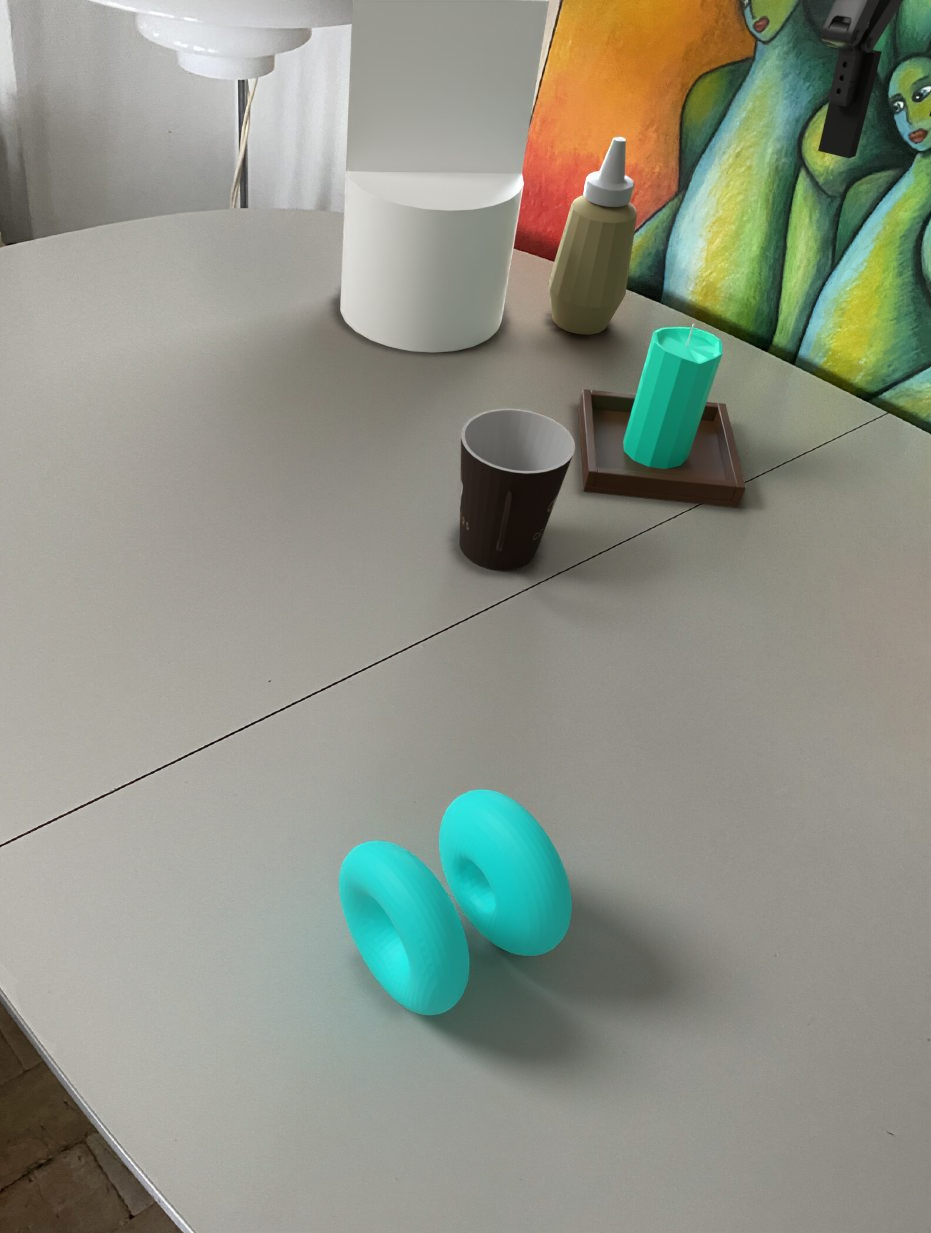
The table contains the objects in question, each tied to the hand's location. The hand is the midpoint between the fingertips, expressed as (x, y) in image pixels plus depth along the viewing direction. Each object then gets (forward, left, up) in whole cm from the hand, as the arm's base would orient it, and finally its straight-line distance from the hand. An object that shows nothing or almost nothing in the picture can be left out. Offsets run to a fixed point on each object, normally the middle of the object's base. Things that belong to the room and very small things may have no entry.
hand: (893, 135), depth 81 cm
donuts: (+29, +59, -26) cm, 71 cm away
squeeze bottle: (+18, -19, -26) cm, 37 cm away
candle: (+12, +5, -26) cm, 29 cm away
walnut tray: (+12, +5, -26) cm, 29 cm away
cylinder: (+35, -18, -26) cm, 47 cm away
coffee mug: (+27, +22, -26) cm, 44 cm away
